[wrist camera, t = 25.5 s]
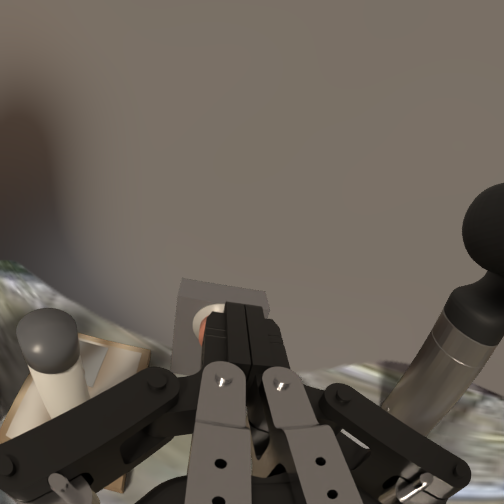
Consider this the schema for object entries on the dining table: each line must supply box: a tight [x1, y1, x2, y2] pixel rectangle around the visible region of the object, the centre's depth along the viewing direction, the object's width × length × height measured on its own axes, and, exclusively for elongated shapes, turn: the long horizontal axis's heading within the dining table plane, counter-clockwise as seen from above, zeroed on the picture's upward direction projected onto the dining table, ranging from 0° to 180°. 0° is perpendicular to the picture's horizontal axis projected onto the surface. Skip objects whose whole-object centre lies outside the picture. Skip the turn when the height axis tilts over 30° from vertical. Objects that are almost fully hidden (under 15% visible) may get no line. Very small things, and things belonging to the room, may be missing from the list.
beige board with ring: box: [0, 333, 151, 493], centre depth 24 cm, size 14×20×2 cm
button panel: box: [171, 278, 270, 376], centre depth 34 cm, size 10×4×12 cm, turn 95°
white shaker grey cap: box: [16, 308, 91, 419], centre depth 17 cm, size 5×5×14 cm
